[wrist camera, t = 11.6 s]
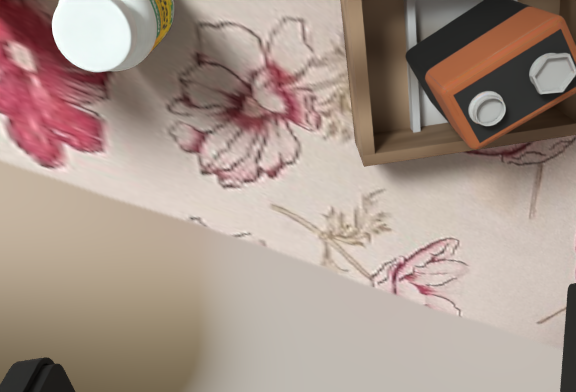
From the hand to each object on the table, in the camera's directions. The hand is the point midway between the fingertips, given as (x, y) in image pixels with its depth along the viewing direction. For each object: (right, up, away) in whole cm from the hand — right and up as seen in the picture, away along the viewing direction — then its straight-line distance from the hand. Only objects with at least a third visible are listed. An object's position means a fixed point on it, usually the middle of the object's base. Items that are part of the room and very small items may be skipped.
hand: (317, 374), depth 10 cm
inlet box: (+11, +14, +27) cm, 32 cm away
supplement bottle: (-11, +16, +26) cm, 32 cm away
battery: (+11, +13, +26) cm, 31 cm away
